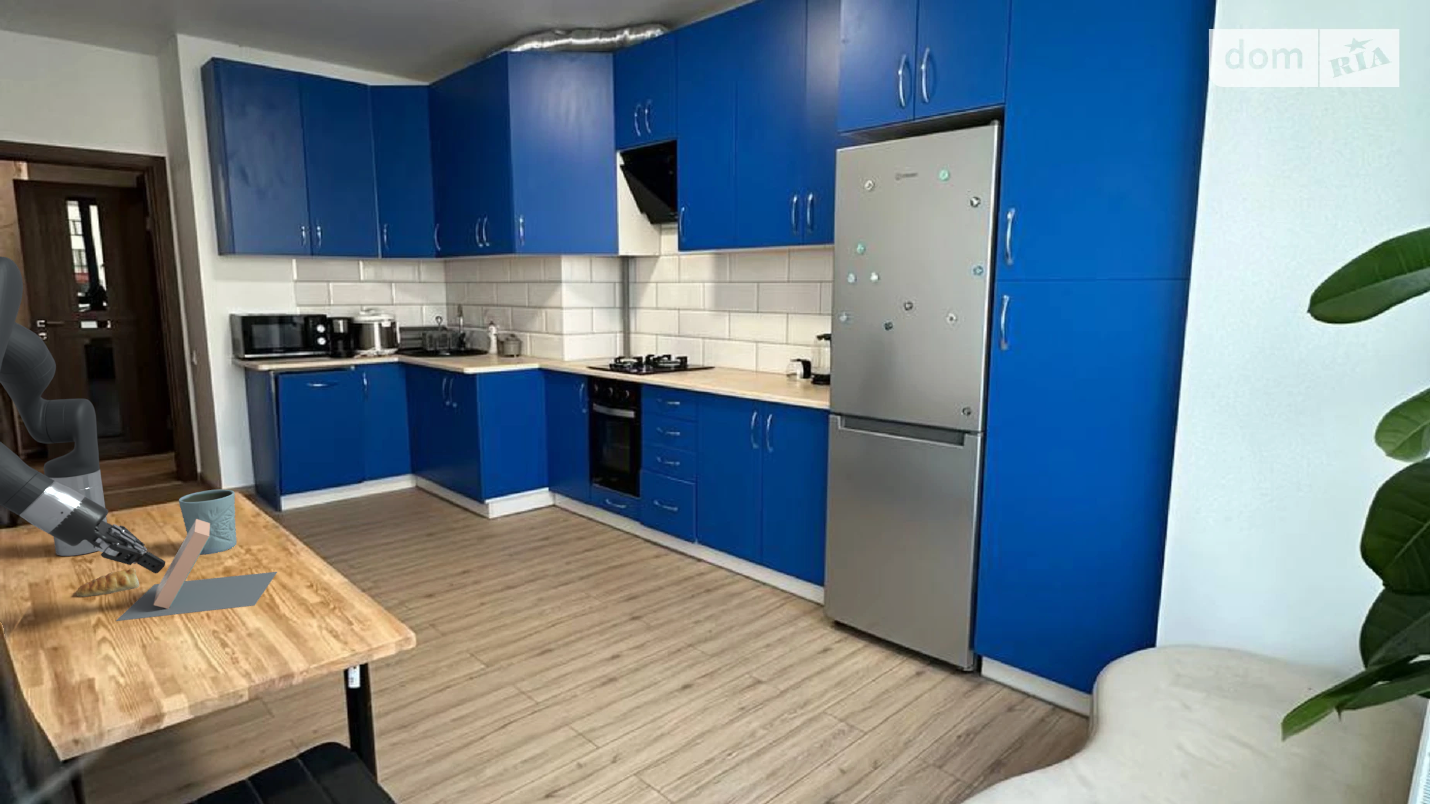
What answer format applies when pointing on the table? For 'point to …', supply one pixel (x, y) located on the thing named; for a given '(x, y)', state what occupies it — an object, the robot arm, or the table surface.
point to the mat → (204, 596)
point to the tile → (182, 564)
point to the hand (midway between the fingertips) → (161, 568)
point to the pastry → (110, 584)
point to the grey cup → (212, 517)
